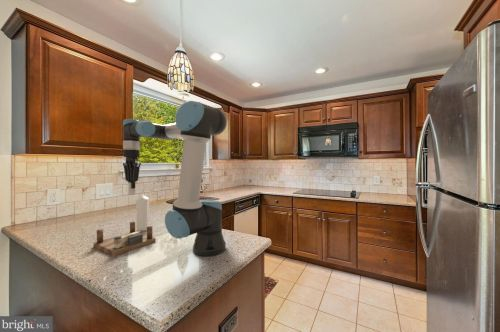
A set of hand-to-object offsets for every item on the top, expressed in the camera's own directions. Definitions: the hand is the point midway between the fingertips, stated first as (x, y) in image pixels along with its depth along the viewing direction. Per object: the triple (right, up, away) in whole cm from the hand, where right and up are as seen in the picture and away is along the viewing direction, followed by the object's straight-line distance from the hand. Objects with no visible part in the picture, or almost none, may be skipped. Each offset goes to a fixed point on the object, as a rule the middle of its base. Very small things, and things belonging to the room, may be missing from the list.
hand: (131, 194), depth 110 cm
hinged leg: (+3, -22, -9) cm, 24 cm away
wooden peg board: (-1, -24, -4) cm, 25 cm away
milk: (-5, -25, +21) cm, 32 cm away
